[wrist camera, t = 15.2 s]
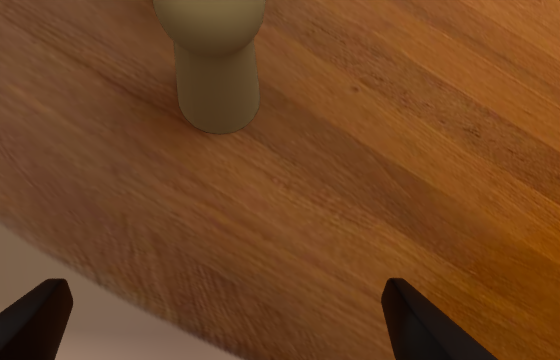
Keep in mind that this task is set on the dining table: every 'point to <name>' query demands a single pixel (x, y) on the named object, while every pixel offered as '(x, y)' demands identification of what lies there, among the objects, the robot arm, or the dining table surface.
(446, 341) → the robot arm
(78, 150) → the dining table surface
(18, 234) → the dining table surface
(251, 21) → the tan peg doll
